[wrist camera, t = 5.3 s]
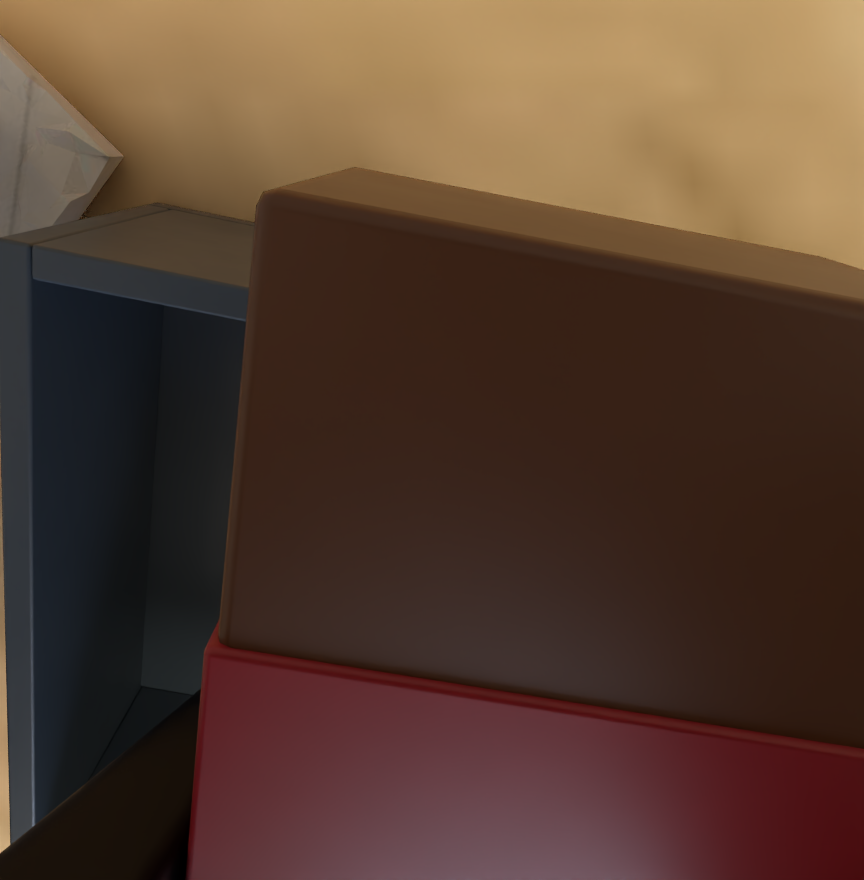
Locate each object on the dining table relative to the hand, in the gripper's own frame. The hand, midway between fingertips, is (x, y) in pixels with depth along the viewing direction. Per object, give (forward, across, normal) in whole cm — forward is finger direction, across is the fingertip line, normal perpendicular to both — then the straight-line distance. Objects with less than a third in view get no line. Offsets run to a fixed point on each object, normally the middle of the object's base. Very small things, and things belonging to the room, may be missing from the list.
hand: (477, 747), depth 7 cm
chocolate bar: (+1, 0, 0) cm, 1 cm away
